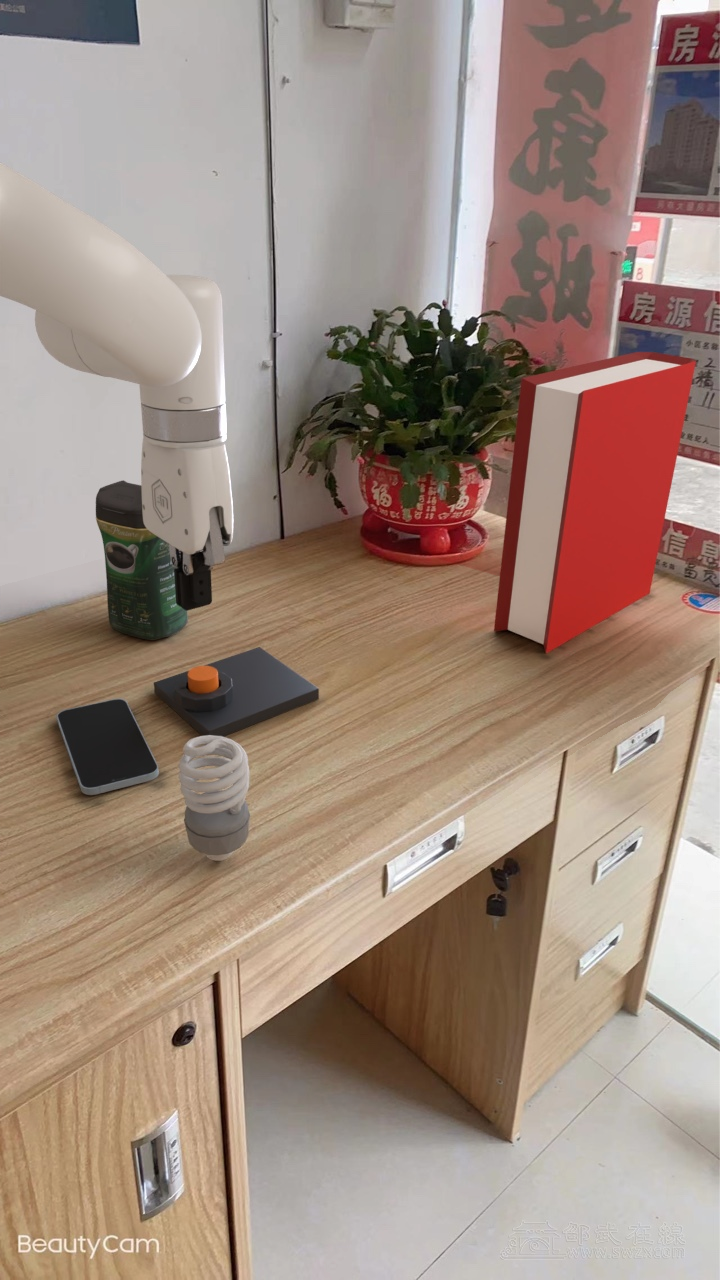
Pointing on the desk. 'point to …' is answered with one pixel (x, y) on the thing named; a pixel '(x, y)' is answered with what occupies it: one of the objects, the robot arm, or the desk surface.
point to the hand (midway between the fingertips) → (194, 604)
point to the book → (589, 491)
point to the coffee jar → (136, 567)
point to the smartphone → (106, 746)
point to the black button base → (238, 693)
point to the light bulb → (215, 796)
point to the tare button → (203, 679)
